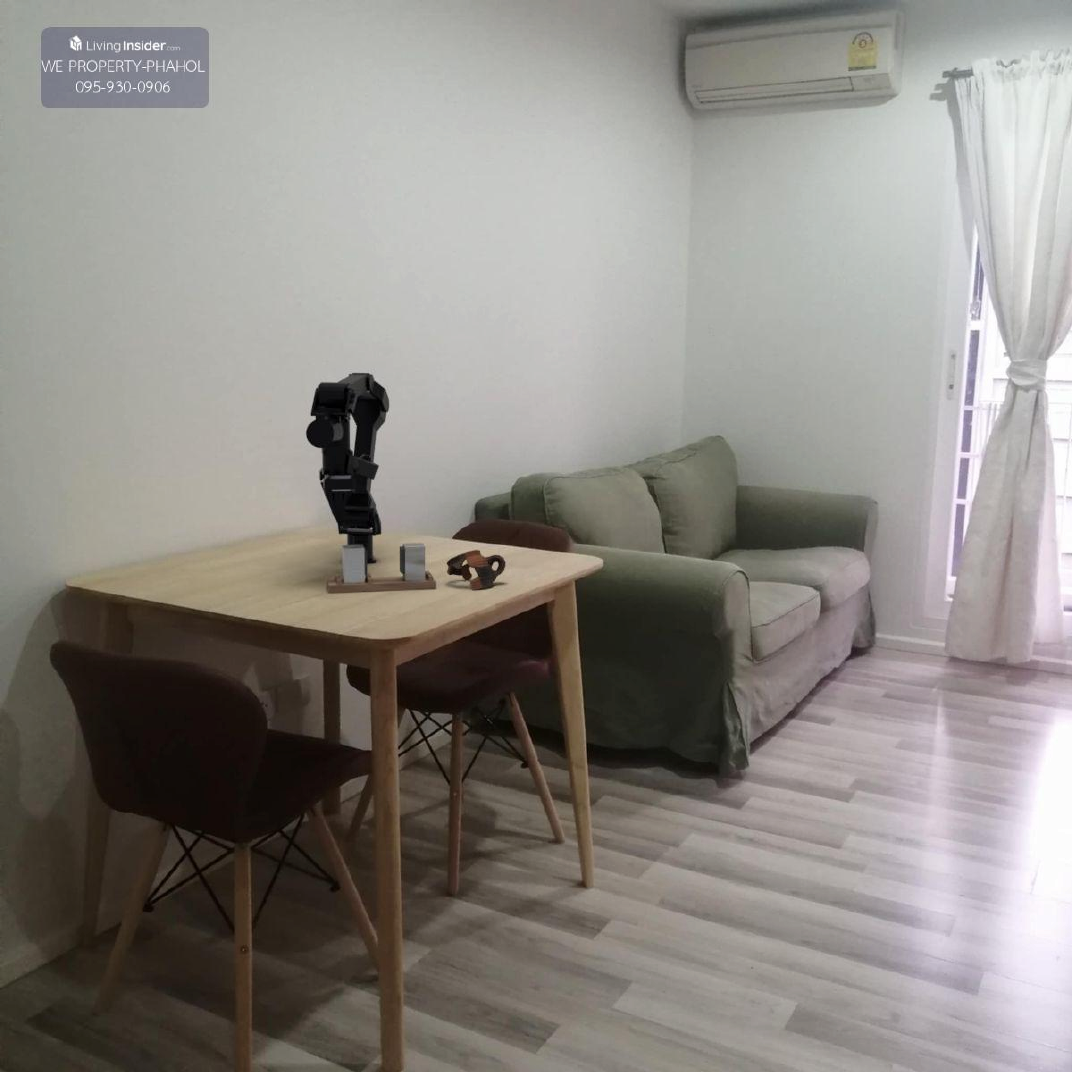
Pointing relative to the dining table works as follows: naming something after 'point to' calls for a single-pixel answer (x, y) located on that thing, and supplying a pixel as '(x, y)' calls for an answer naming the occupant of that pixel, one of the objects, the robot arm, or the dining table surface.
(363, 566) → the block
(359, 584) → the rail
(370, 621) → the dining table surface
